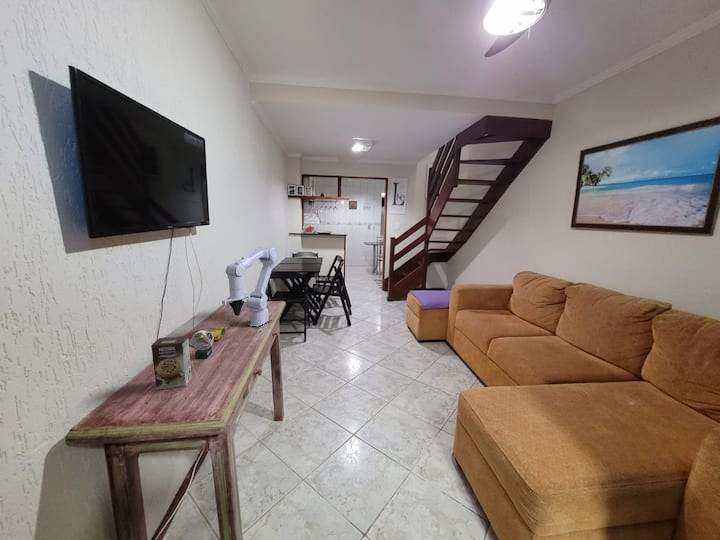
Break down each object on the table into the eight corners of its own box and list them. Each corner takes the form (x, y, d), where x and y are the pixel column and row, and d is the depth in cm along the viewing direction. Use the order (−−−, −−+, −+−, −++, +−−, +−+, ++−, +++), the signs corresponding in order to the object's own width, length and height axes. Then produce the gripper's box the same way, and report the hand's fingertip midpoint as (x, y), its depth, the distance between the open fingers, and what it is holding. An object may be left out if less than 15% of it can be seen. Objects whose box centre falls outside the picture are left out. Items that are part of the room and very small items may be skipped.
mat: (210, 332, 135) (210, 331, 135) (223, 336, 130) (223, 335, 130) (182, 343, 122) (182, 342, 122) (196, 347, 118) (195, 346, 118)
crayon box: (209, 333, 133) (199, 343, 121) (209, 327, 132) (198, 337, 121) (225, 332, 134) (216, 342, 122) (225, 326, 133) (216, 336, 122)
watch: (212, 358, 109) (209, 333, 107) (190, 359, 108) (188, 334, 106) (216, 352, 115) (214, 328, 113) (196, 353, 113) (194, 329, 111)
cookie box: (155, 390, 88) (149, 345, 85) (163, 379, 94) (158, 337, 91) (186, 386, 90) (182, 342, 88) (192, 376, 97) (188, 334, 94)
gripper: (242, 284, 137) (243, 310, 139) (216, 290, 124) (218, 318, 126) (252, 286, 134) (253, 312, 136) (227, 292, 121) (228, 320, 123)
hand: (237, 315), depth 131 cm, fingers closed
